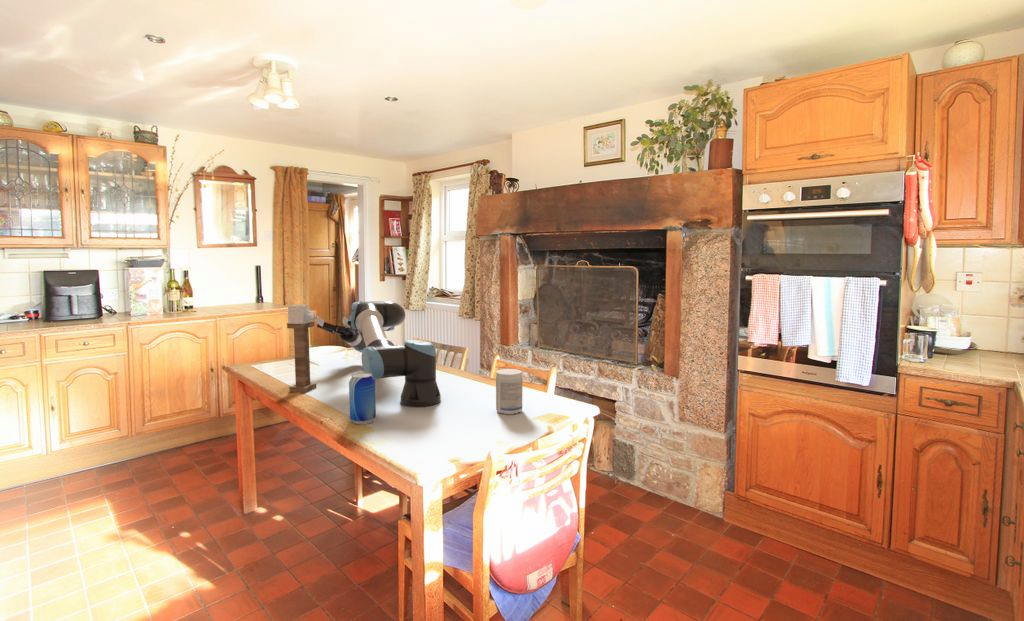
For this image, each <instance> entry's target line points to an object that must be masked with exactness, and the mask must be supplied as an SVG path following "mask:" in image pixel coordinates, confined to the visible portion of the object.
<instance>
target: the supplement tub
mask: <svg viewBox="0 0 1024 621" xmlns="http://www.w3.org/2000/svg"><path fill="white" fill-rule="evenodd" d="M495 372H496V373H495V374H496V375H495V409H496V411H498V413H499V414H501V413H504V414H503V415H515V414H514V413H517V414H519V413H518V412H520V413H521V412H522V411H523V373H522V372H523V371H522V370H520V369H515V368H503V369H498V370H497V371H495Z"/></svg>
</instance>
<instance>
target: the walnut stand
mask: <svg viewBox="0 0 1024 621" xmlns="http://www.w3.org/2000/svg"><path fill="white" fill-rule="evenodd" d="M312 327H315V321H314V320H311V321H309V322H308V323H304V324H289V322H287V323H286V329H292V330H293V343H294V344H293V345H294V349H293V350H294V374H295V377H294V378H295V384H293V385H291V386H289V392H290V391H292V392H291V393H298V392H301V393H302V394H306V392H307V393H309V392H310V390H311V391H313V390H316V389H317V382H311V367H310V365H311V364H310V363H311V362H310V339H309V338H310V336H309V335H310V334H309V333H310V332H309V329H310V328H312ZM312 389H313V390H312ZM308 391H309V392H308Z"/></svg>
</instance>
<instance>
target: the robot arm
mask: <svg viewBox="0 0 1024 621" xmlns="http://www.w3.org/2000/svg"><path fill="white" fill-rule="evenodd" d="M405 319H406V310H405V309H404V308H403V307H402V305H401V304H399V303H396V302H394V301H391V300H385V301H384V300H379V301H378V300H377V301H374V300H372V301H361V300H360V301H359V300H358V301H355V302H354V301H353V303H352V304H351V313H350V315H349V318H347V317H346V316H343V317H342V321H341V322H342V323H343V325H344V326H341V325H338V324H335V325H334V324H332V323H330V322H329V323H328V322H326V321H325V320H324V319H323V318H321V317H320V316H318V315H317V319H314V320H313V321H314V323H316V324H317V325H316V327H317V328H319V329H321V330H324V331H326V332H329V333H331V334H332V335H334V334H338V335H339V336H340V339H341V340H343V341H344V342H345V343H347V344H348V345H349V346H350V347H351V348H352V349H354V351H357V352H358V353H361V365H362V370H363V373H371V374H372V377H373V378H374V379H375V380H380V379H384V378H385V379H386V378H397V377H404V384H403V388H402V391H401V395H400V404H401V405H403V406H408V407H416V408H417V407H418V408H419V407H430V406H434V405H437V404H439V403H441V396H442V395H441V392H440V389H439V387H438V386H439V385H438V383H437V351H436V350H437V349H436V348H437V347H436V345H435V344H433V343H432V342H429V341H427V340H426V341H425V340H418V339H417V340H415V339H410V340H409V339H408V340H405V341H404V343H403V344H398V345H396V344H394V343H393V342H392V341H391V340H389V339H388V337H387V334H386V332H391V331H394V330H395V327H397V326H400V325H401V324H402V323H404V321H405Z"/></svg>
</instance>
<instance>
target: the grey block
mask: <svg viewBox="0 0 1024 621" xmlns="http://www.w3.org/2000/svg"><path fill="white" fill-rule="evenodd" d="M287 315H288V323H289V324H304V323H308V322H309V321H314V320H315V319H317V316H318V310H317V309H314V310H312V309H309V304H292V305H288V306H287Z"/></svg>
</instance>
